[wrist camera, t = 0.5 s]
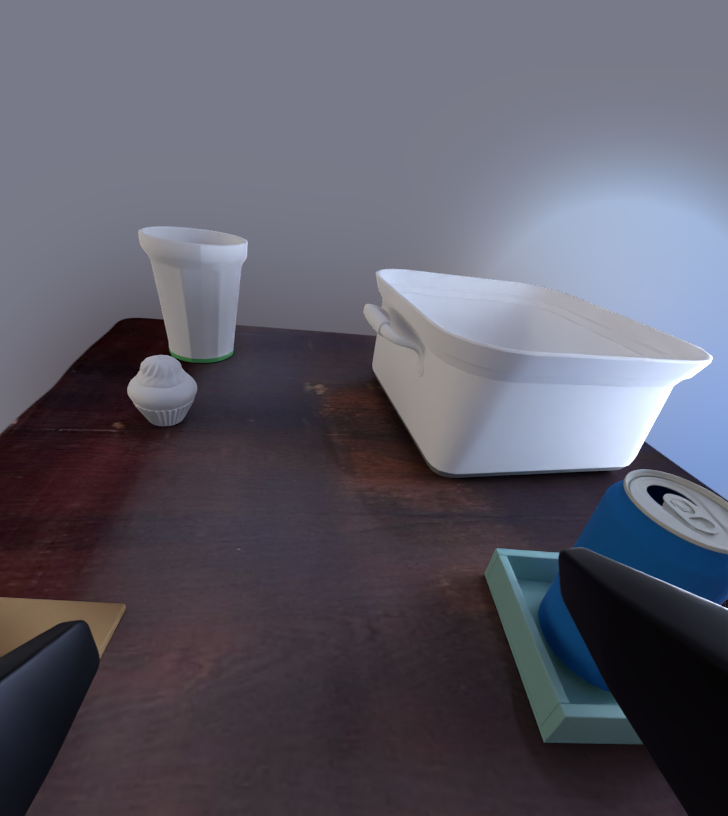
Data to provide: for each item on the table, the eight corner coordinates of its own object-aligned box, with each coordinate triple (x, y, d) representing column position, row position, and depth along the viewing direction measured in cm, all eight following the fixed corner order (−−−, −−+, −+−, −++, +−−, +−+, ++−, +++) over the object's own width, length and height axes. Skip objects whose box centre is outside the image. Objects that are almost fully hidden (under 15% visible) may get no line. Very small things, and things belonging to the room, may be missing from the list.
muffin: (149, 400, 43) (140, 339, 39) (207, 407, 43) (203, 347, 40) (120, 431, 37) (107, 364, 34) (186, 438, 38) (181, 373, 35)
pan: (718, 746, 22) (751, 721, 20) (543, 742, 20) (565, 716, 19) (610, 581, 30) (627, 557, 29) (483, 573, 29) (495, 547, 28)
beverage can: (596, 596, 29) (686, 465, 23) (667, 696, 23) (810, 558, 17) (516, 599, 27) (589, 462, 22) (571, 706, 22) (689, 562, 16)
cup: (240, 334, 63) (239, 232, 56) (255, 367, 54) (257, 249, 46) (152, 335, 58) (138, 222, 50) (153, 372, 48) (136, 239, 41)
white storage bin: (528, 374, 67) (562, 287, 60) (680, 488, 43) (766, 366, 36) (331, 367, 57) (344, 262, 50) (388, 508, 34) (426, 347, 27)
